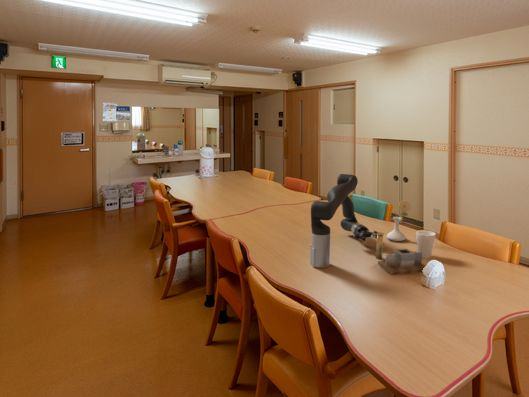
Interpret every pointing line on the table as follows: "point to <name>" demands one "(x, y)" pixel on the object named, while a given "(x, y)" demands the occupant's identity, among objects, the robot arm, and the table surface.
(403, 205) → the flower in vase
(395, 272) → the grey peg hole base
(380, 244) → the brass capped peg
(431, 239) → the foam cup
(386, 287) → the table surface
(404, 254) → the grey winged socket holder
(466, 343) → the table surface
